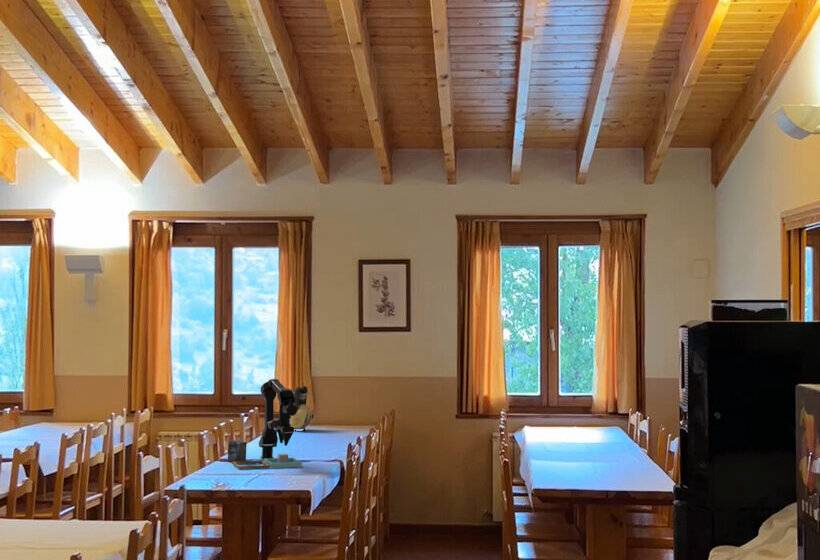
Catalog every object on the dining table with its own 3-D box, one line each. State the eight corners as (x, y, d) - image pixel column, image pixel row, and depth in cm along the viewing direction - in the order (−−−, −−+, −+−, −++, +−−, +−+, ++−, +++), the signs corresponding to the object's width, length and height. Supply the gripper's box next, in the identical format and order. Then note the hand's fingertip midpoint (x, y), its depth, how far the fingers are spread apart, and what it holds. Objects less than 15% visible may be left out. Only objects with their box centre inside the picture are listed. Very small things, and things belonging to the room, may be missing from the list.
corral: (232, 464, 445) (232, 461, 445) (262, 463, 451) (262, 460, 451) (238, 469, 431) (238, 466, 431) (269, 468, 437) (269, 465, 437)
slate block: (277, 463, 448) (277, 453, 449) (285, 463, 450) (286, 453, 450) (279, 465, 444) (279, 455, 445) (287, 464, 446) (288, 454, 446)
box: (227, 461, 453) (228, 441, 454) (234, 460, 458) (235, 440, 459) (238, 463, 449) (239, 442, 450) (246, 462, 454) (246, 441, 455)
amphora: (306, 433, 579) (308, 387, 581) (282, 431, 582) (284, 386, 584) (314, 430, 597) (316, 386, 598) (290, 428, 600) (292, 385, 601)
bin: (264, 463, 451) (264, 458, 452) (293, 462, 457) (293, 457, 457) (271, 468, 437) (271, 463, 437) (301, 467, 443) (301, 462, 443)
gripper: (265, 412, 454) (263, 442, 453) (273, 416, 437) (272, 447, 436) (285, 412, 458) (284, 441, 457) (295, 415, 441) (293, 446, 440)
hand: (283, 444), depth 448 cm, fingers open, 9 cm apart
